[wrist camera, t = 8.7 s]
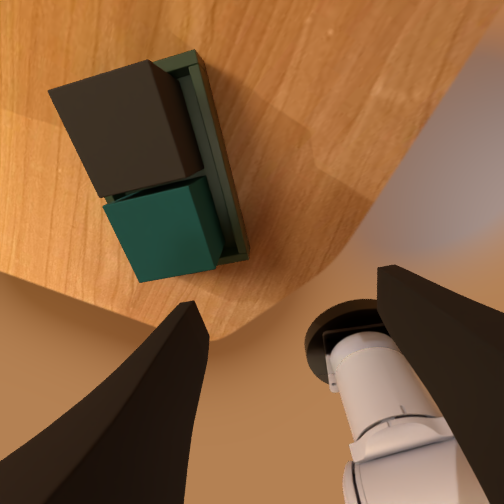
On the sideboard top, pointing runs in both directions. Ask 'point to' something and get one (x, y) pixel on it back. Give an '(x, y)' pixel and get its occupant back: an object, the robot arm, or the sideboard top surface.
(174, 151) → the dark brown block
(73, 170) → the sideboard top surface
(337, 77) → the sideboard top surface
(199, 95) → the frame
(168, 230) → the teal green block
